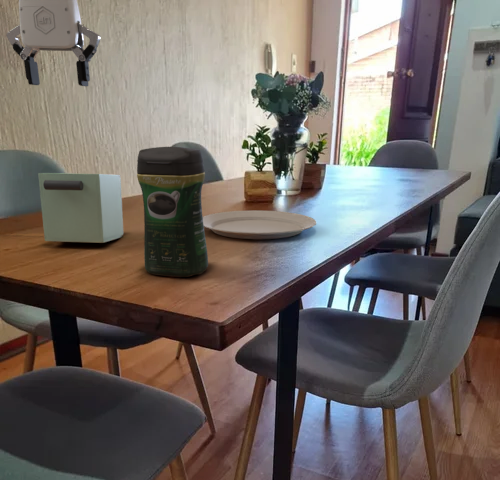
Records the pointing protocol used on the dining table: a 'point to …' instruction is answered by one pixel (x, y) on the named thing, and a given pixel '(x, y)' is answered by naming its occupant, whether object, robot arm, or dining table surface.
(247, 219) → the plate
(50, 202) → the pale sage cube
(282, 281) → the dining table surface
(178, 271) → the coffee jar
